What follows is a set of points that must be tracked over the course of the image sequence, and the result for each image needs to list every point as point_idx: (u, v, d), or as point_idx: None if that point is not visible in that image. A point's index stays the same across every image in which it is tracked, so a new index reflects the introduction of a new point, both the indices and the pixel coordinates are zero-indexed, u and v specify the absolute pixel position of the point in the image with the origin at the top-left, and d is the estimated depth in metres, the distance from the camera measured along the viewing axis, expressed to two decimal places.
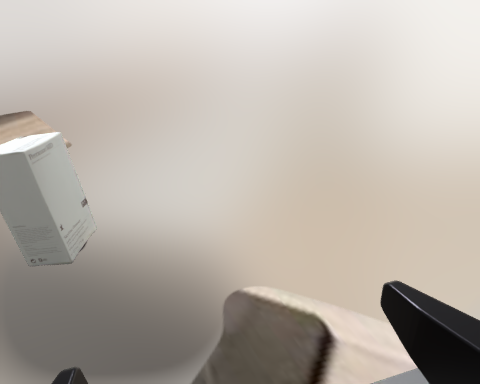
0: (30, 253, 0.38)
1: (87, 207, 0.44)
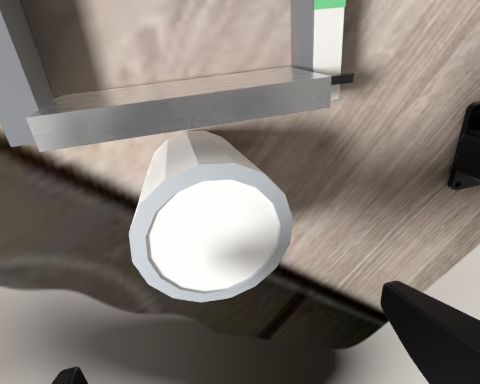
0: None
1: None
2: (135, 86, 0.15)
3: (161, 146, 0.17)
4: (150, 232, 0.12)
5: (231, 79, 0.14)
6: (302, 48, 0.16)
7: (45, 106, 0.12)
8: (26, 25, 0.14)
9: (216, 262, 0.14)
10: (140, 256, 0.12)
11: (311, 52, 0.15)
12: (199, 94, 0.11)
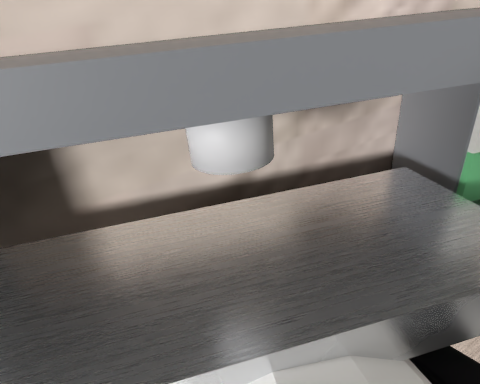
0: None
1: None
2: (136, 224, 0.08)
3: None
4: None
5: (327, 224, 0.07)
6: None
7: None
8: None
9: None
10: None
11: None
12: (300, 341, 0.05)
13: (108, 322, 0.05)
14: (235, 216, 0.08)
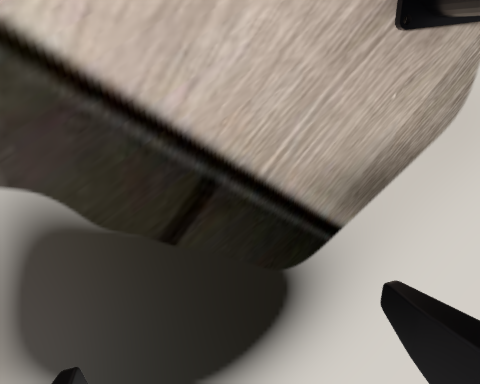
0: None
1: None
2: None
3: None
4: None
5: None
6: None
7: None
8: None
9: None
10: None
11: None
12: None
13: None
14: None
